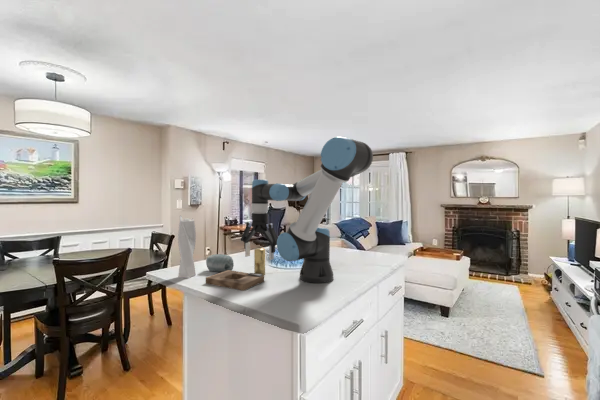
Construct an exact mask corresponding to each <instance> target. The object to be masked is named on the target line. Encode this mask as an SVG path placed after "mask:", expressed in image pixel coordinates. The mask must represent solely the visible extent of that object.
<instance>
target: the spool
mask: <svg viewBox="0 0 600 400" xmlns="http://www.w3.org/2000/svg"><path fill="white" fill-rule="evenodd" d="M205 263H206V268H207V269H208V270H209V271H210V272H217V273H221V272H224V271H227V270H231V271H233V269H234V266H235V265H234V259H233V257H232V256H231V255H228V254H220V253H219V254H211V255H208V257H207V258H206V260H205Z"/></svg>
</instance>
